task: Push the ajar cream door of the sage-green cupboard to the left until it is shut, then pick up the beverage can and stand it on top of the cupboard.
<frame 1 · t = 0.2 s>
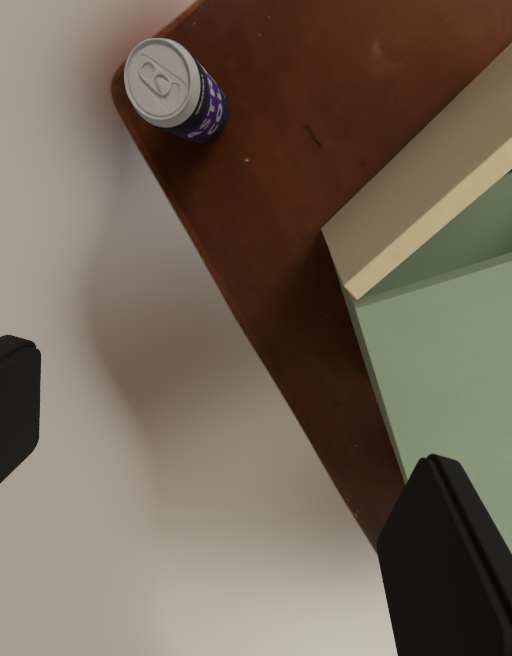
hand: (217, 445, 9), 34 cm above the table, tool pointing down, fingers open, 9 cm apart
beverage can: (202, 112, 37), on the table
cupboard door: (460, 69, 23), point 12 cm above the table, hinge at 25.0°
cupboard: (471, 276, 39), on the table
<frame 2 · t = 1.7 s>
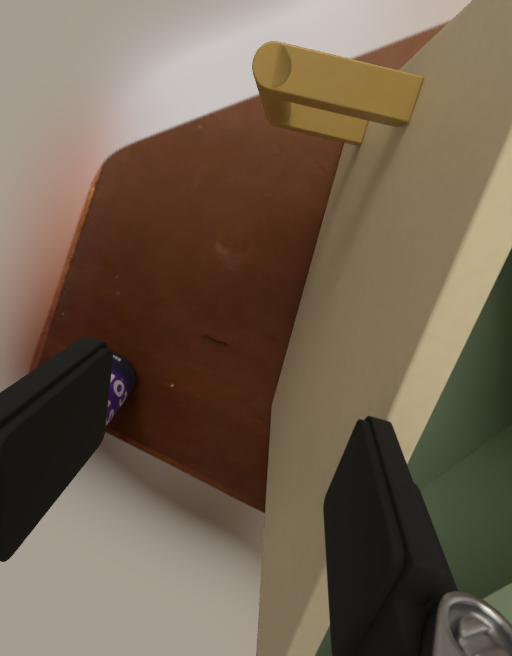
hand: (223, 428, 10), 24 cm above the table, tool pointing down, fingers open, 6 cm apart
beverage can: (112, 369, 38), on the table
cupboard door: (276, 327, 21), point 12 cm above the table, hinge at 26.2°, touching gripper
cupboard: (444, 374, 35), on the table
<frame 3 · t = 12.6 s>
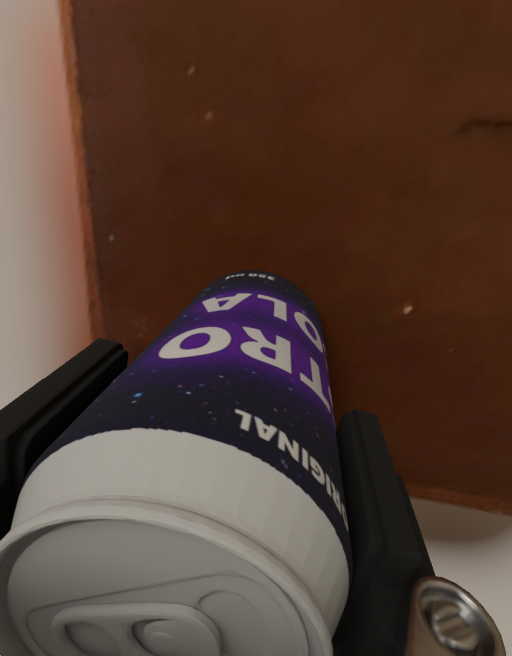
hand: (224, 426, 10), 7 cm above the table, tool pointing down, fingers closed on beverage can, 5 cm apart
beverage can: (256, 329, 16), on the table, touching gripper
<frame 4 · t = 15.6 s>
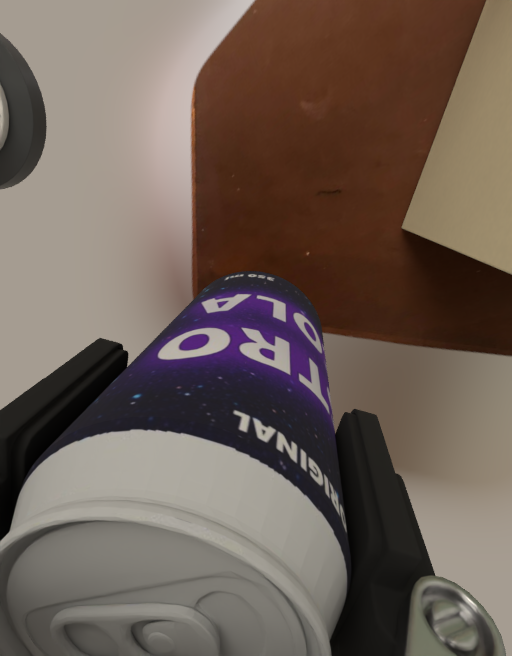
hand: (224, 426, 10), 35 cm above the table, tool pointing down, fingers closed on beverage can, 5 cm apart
beverage can: (255, 329, 16), point 28 cm above the table, touching gripper
cupboard door: (485, 38, 24), point 12 cm above the table, hinge at -0.2°
when the fingers open (31 cm above the table, at t = 19.0 s): beverage can stays where it is, resting on cupboard.
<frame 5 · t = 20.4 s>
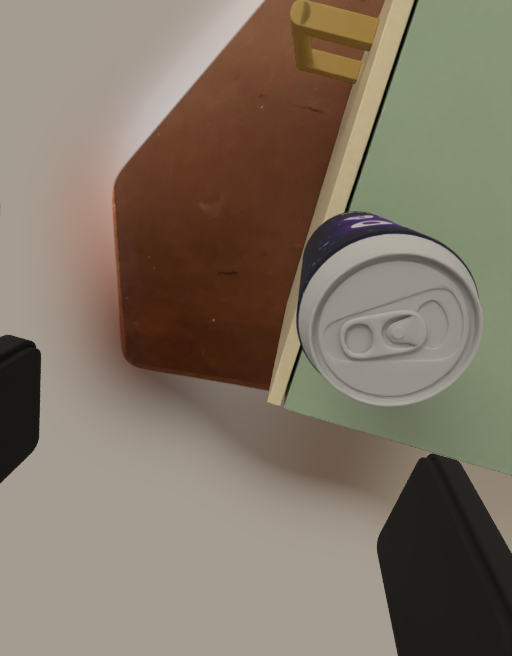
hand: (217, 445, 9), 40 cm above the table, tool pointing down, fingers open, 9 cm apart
beverage can: (350, 259, 22), point 24 cm above the table, touching cupboard
cupboard door: (294, 199, 33), point 12 cm above the table, hinge at -0.2°
cupboard: (401, 224, 43), on the table
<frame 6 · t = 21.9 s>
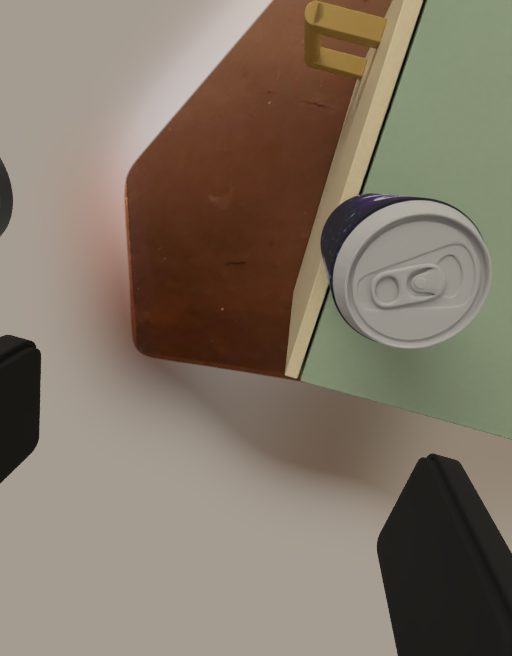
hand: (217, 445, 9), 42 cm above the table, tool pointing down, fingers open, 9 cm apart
beverage can: (363, 239, 24), point 24 cm above the table, touching cupboard
cupboard door: (304, 188, 35), point 12 cm above the table, hinge at -0.2°
cupboard: (402, 214, 46), on the table
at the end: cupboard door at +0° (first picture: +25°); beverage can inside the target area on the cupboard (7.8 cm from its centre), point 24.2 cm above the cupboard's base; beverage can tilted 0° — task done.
